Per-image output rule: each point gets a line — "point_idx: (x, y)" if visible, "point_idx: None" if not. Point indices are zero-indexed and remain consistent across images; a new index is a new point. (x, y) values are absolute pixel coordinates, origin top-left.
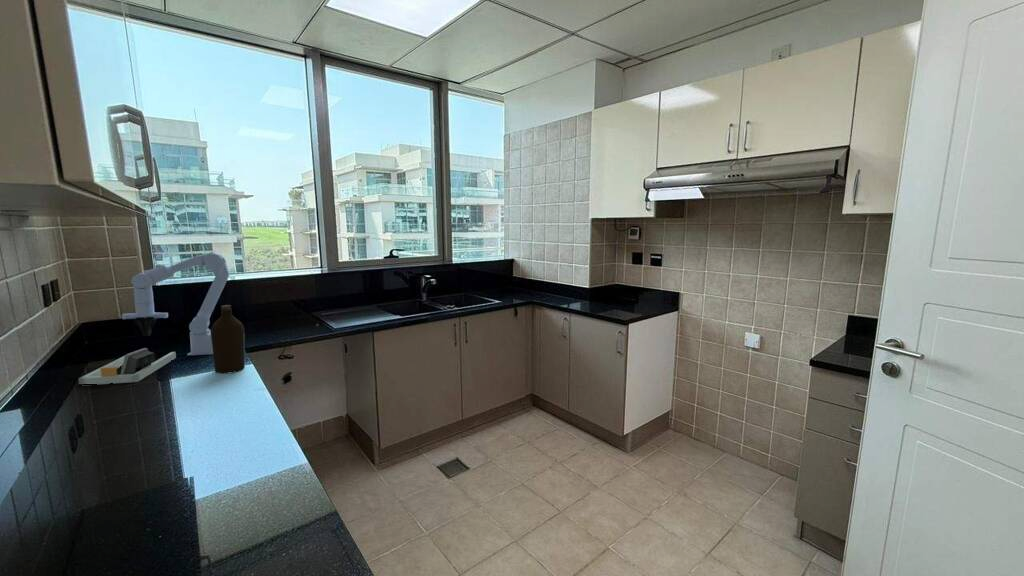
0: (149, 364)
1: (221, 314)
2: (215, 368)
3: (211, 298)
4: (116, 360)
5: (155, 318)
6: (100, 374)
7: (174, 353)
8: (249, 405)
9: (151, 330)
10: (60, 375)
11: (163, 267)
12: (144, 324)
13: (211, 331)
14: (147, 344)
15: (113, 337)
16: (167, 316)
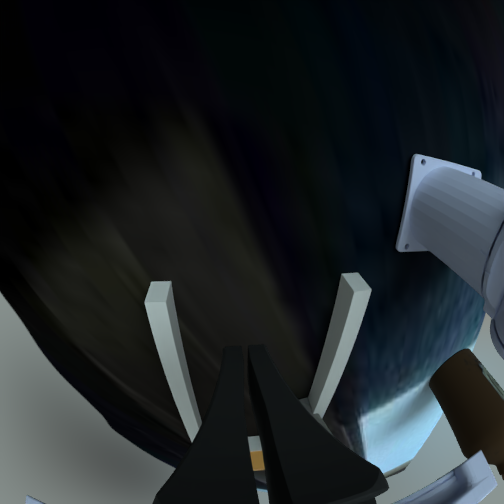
0: (315, 415)
1: (497, 467)
2: (432, 391)
3: None
4: (172, 380)
5: (374, 496)
6: (200, 424)
7: (366, 297)
8: (420, 436)
9: (281, 377)
10: (84, 389)
11: None
12: (267, 488)
13: (465, 456)
14: None
15: None
16: (474, 464)
